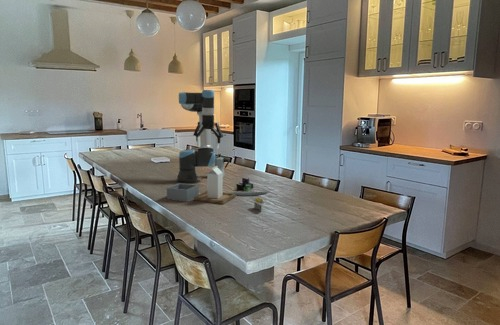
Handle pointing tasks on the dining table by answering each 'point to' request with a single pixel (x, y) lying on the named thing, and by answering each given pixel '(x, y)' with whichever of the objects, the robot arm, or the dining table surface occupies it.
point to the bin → (182, 192)
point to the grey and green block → (258, 203)
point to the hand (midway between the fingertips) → (208, 147)
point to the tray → (221, 200)
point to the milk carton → (215, 183)
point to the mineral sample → (246, 188)
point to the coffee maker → (221, 163)
